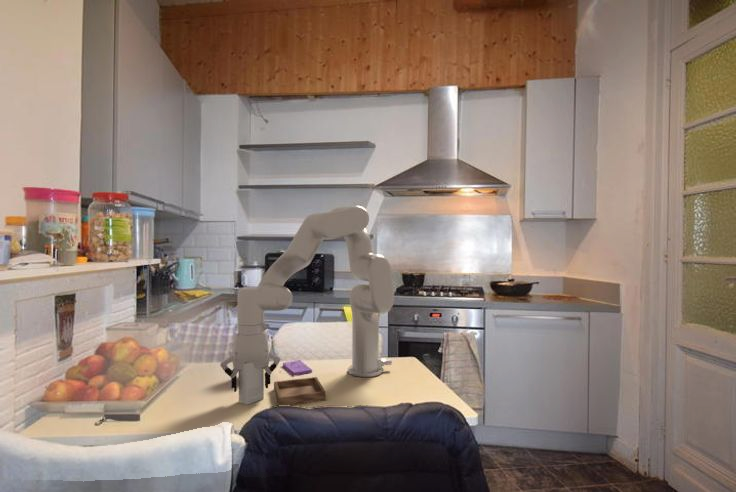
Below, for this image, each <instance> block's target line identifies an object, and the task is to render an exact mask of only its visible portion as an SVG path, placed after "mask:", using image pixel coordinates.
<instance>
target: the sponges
mask: <svg viewBox="0 0 736 492" xmlns="http://www.w3.org/2000/svg"><path fill="white" fill-rule="evenodd" d="M282 367H283V368H284V369H285V370H286V371H288V373H290V374H291V375H292V376H294V377H296V376H301V375H306V374H312V373H313V369H312V368H311V367H310V366H308V365H307V364H306V363H304V362H303V361H302V360H301V359H298V360H293V361H286V362H282Z"/></svg>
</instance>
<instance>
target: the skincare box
mask: <svg viewBox="0 0 736 492" xmlns="http://www.w3.org/2000/svg"><path fill="white" fill-rule="evenodd" d="M264 371H265V370H264V368H254V365H253V363H252V362H249V363H244V364H243V370H239V371H238V402H240V404H241V403H242V404H243V405H246V406H247V405H250V404H253V403H255V402H258V401H261V400H264V397H265V395H264V392H265V391H264V387H265V372H264Z"/></svg>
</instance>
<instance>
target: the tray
mask: <svg viewBox="0 0 736 492" xmlns="http://www.w3.org/2000/svg"><path fill="white" fill-rule="evenodd" d="M273 391H274V394H275V398H276V402H277V405H287V406H293V405H299V404H300V405H302V404H309V403H315V402H316V403H317V402H324V401H327V391H326V390H325V388H324V386H323V384H321V382H320V380H319V379H318V376H314V377H303V378H295V379H287V380H286V379H285V380H279V381H278V380H276V381H273Z"/></svg>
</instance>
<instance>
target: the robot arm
mask: <svg viewBox="0 0 736 492" xmlns="http://www.w3.org/2000/svg"><path fill="white" fill-rule="evenodd" d="M369 222H370V214H369V212H368V211H367V209H366V208H364V207H363V206H360V205H348V206H340V207H336V208H332V209H331V210H330V211H329V212H328V211H327V212H318V213H317V212H316V213H312V214H310V215H309V214H308V216H306V217H305V218H304V220H303V222H302V224H301V225H300V227H299V228H298V229H297V232H296V233H295V235H294V237H293V239H292V240H291V242H290V244H289V246H288V247H287V249H286V250H285V251H284V252H283V253H282V254H281V255H280V256H279V257H278V258H277V259H276V260H275V261H274V262H273V263H272V264H271V265H270V266H269V268H268V269H267V270H266V272H265V273H264V275H263V276H262V278H261V280H260V282H259V283H258V285H257V286H244V287H240V288H239V289H238V291H237V333H235V334H234V337H233V338H234V339H233V343H232V345H233V346H232V354H231V355H230V356H229V357H227V358H225V359H224V360H223V361H221V363H220V364H219V365H220V367H221V368H222V370H223V371H224V373H225V374H226V375H228V377H230V378H231V381H230V382H231V385H230V386H231V389H233V392H234V393H235V392H237V387H238V386H237V385H238V384H237V383H238V382H237V381H238V379H237V374H239V370H243V364H244V363H249V362H252V363H253V365H254V368H264V371H265V372H264V387H265V388H266V389H269V385H271V374H272V372H273V371H274V370H275V369H277V367H278V365H279V363H280V362H281V357H279V356H278V355H276V354H274V353H272V352H270V351H269V350H270V348H269V341H268V340H269V339H268V335H267V334H268V332H267V331H266V330H270V323H266V322H265V311H273V312H275V311H276V312H278V311H281V312H282V311H284V310H286V309H288V308H290V306H291V304H292V302H293V296H294V295H293V293H292V292H291V290H290V289H289V288H288V287H286V286H284V285H285V283H286V282H287V281H288V280H289V279H290V278H291V276H293V275H294V274H295V273H297V272H299V271H301V270H303V269H304V268H307V267H308V266H309V265H310V264H311V263H312V261H313V259H314V257H315V255H316V253H318V252H317V251H318V250H319V248H320V247H321V245H322V243H323V241H324V240H336V239H338V238H343V239H344V240H345V243H346V247H347V253H348V262H349V270H350V273H351V276H352V277H353V278H354V279H355V280H358V281H364V282H362V283H358V284H356V285H354V286H353V287H352V288H351V290H350V293H349V305H350V309H351V310H350V311H351V319H352V320H351V321H352V322H351V327H352V328H351V329H352V332H351V333H352V334H351V335H352V336H351V339H352V341H351V344H352V345H351V346H352V347H351V349H352V350H351V351H352V352H351V353H352V355H351V357H352V358H351V362H352V363H351V365H350V366H348V368H347V372H348V374H349V375H352V376H353V377H354V376H355V377H360V378H370V377H377V376H379V375H380V376H381V374H382V373H384V366H391V365H392V359H386V358H380V357H379V355H380V354H379V353H380V352H379V351H380V347H379V346H380V345H379V343H380V342H379V341H380V339H379V337H380V335H379V334H380V331H379V329H380V322H379V317H378V315H379V314H381V315H383V314H387V313H389V312H390V311H391V309H392V308H393V306H394V301H395V291H394V290H395V289H394V284H393V272H392V267H391V264H390V262H389V260H388V259H387V257H385V256H383V255H382V254H379V253H377V254H376V253H373V248H372V241H371V237H370V234H369V232H368V229H366V228H367V226H368V225H369ZM366 282H367V283H366ZM270 359H271V360H273V363H271V365H270ZM230 363H232V367H233V368H232V369H231V368H229V367H228V365H229V364H230ZM269 365H270V366H269Z"/></svg>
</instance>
